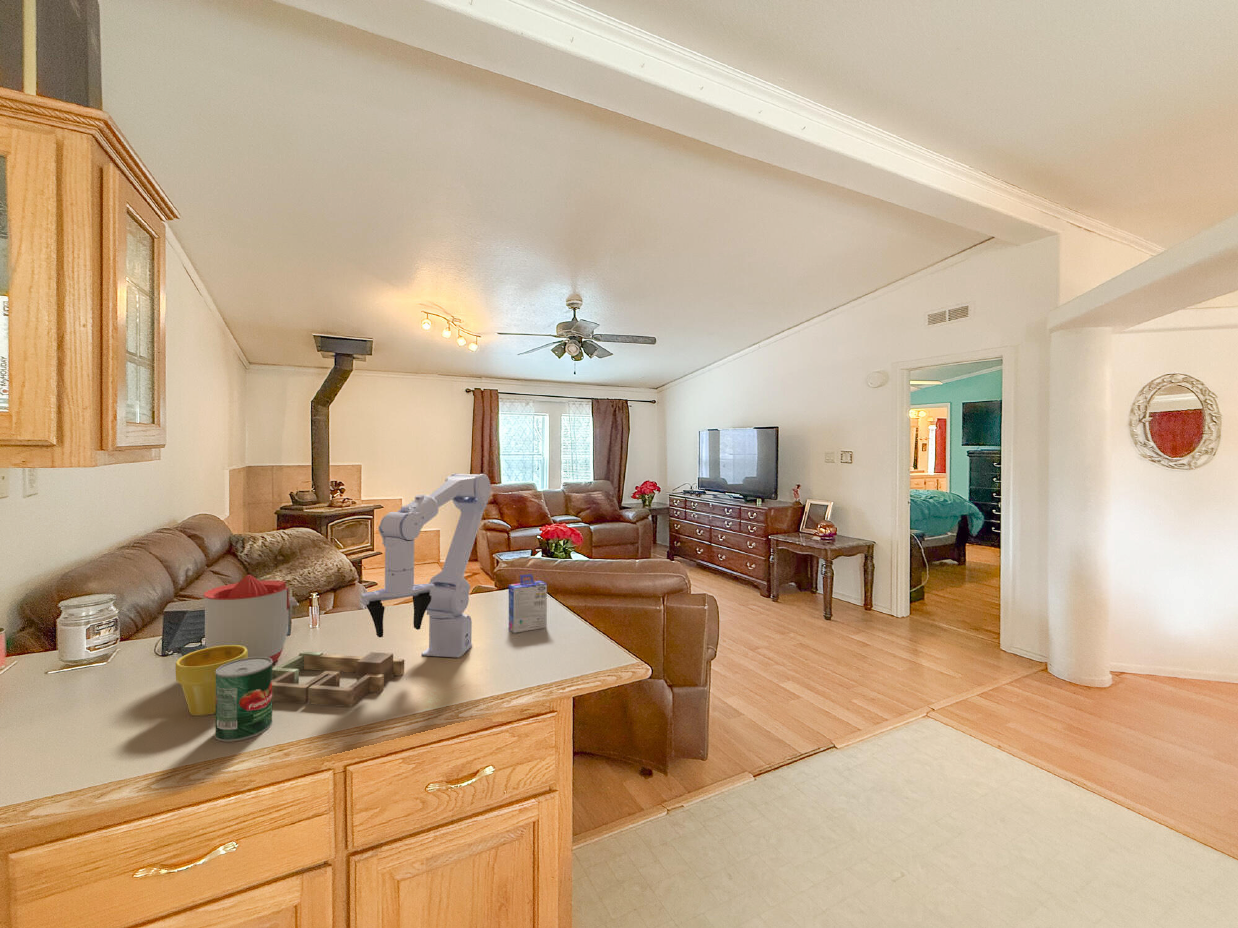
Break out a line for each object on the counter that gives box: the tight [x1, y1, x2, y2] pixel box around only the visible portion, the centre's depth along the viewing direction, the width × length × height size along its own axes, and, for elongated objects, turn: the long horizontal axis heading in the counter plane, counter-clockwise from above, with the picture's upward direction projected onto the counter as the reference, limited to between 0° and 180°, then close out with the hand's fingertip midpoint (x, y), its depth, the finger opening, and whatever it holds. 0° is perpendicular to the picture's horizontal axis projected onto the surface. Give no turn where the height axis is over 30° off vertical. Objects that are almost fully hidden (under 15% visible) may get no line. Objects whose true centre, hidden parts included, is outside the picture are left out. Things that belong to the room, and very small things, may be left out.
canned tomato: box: [214, 657, 274, 743], centre depth 86 cm, size 8×8×11 cm
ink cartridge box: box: [507, 573, 548, 634], centre depth 139 cm, size 10×6×14 cm, turn 120°
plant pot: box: [175, 645, 248, 717], centre depth 93 cm, size 10×10×10 cm
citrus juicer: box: [203, 574, 299, 664], centre depth 113 cm, size 16×17×20 cm
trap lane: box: [272, 650, 405, 708], centre depth 103 cm, size 24×15×3 cm, turn 84°
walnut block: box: [356, 651, 394, 684], centre depth 105 cm, size 5×5×5 cm
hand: (398, 631), depth 107 cm, fingers open, 7 cm apart
